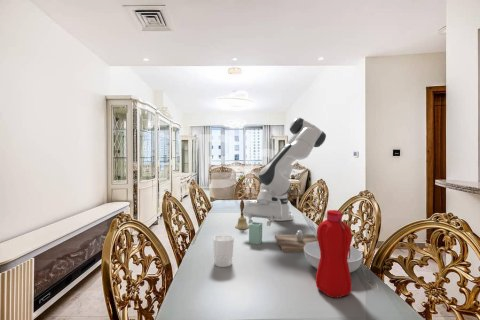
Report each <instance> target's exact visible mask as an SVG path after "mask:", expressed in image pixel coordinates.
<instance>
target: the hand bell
mask: <svg viewBox="0 0 480 320" xmlns="http://www.w3.org/2000/svg"><path fill="white" fill-rule="evenodd" d="M244 207H245V201H244V199H241V200H240V204H239V209H240V217H239V218H238V220H237V224H236V225H235V229H236V230H237V229H238V230H247V229H249V223H248V222H247V218H246V216H244V214H243V209H244Z"/></svg>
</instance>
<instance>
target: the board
mask: <svg viewBox="0 0 480 320" xmlns="http://www.w3.org/2000/svg"><path fill="white" fill-rule="evenodd" d="M274 238H275V241H276V243H277V244H278V246H279V247H280V250H281V251H282V253H295V252H296V253H301V252H302V253H304V246H305V245H306V244H308V243H311V242H316V241H318V239H317V236H316V235H315V234H303V242H297V241H296V234H274Z"/></svg>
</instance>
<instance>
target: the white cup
mask: <svg viewBox="0 0 480 320" xmlns="http://www.w3.org/2000/svg"><path fill="white" fill-rule="evenodd" d="M234 238H235V237H234V236H232V235H229V234H228V235H227V234H218V235H215V236H213V238H212V241H213V257H214V261H213V262H214V265H215V266H217V267H219V268H227V267H230V266H232V265H233V257H234V256H233V255H234V240H235V239H234Z"/></svg>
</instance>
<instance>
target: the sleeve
mask: <svg viewBox="0 0 480 320" xmlns="http://www.w3.org/2000/svg"><path fill="white" fill-rule="evenodd" d="M248 226H249V228H248V243H249V244H253V245H260V244H261V243H263V222H257V221H253V222H252V223H250V224H249V223H248Z"/></svg>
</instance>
